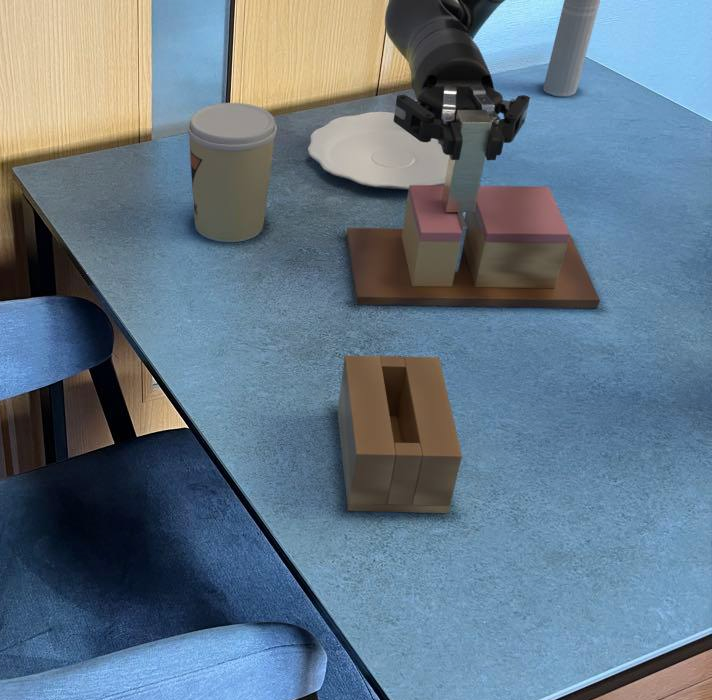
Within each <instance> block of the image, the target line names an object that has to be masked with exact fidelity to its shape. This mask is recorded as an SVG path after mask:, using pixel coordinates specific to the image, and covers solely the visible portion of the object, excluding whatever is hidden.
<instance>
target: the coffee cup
mask: <svg viewBox="0 0 712 700" xmlns="http://www.w3.org/2000/svg"><path fill="white" fill-rule="evenodd" d="M277 126H278V125H277V123H276V121H275V118H274V116H273V115H272V113H270V111H268V110H266V109H265V108H262V107H260V106H257V105H253V104H249V103H241V102H222V103H214V104H211V105H207V106H204V107H201V108H199V109H198V110H196V111H195V112H194V113H193V114H192V116H191V117H190V119H189V122H188V123H187V135H188V138H189V139H188V140H189V158H190V173H191V174H190V175H191V188H192V189H191V191H192V203H193V205H192V206H193V218H194V225H195V229H196V231H197V232H198V234H200V235H201V236H202V237H204V238H206V239H208V240H211V241H215V242H221V243H240V242H244V241H248V240H251V239H253V238H255V237H256V236H258V235H259V234H260V233H261V232H262V230H263V228H264V224H265V223H264V222H265V216H266V209H267V202H268V195H269V186H270V179H271V171H272V163H273V155H274V146H275V137H276V135H277V129H278V128H277Z"/></svg>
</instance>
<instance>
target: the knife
mask: <svg viewBox="0 0 712 700" xmlns="http://www.w3.org/2000/svg"><path fill="white" fill-rule="evenodd" d="M455 122H457V124H458V127H459V130H460V132H461V134H462V137H463V143H462V148H461V154H460V159H459V160H451V158H450V155H449V160H448V166H447V172H446V178H445V183H444V184H443V185H444V189H443V195H442V200H443V203H444V207H445V210H446V212H456V213H457V217H458V220H459V223H460V227H461V230H462V237H461V243H460V248H459V253H458V258H457V263H456V268H455V273H458V270H459V265H460V260H461V255H462V250H463V245H464V240H465V235H466V230H467V226H466V223H465V220H464V219H465V215H464V213H466V212H474V210H475V205H476V200H477V195H478V190H479V186H481V185H480V184H481V180H482V175H483V171H484V165H485V159H486V156H485V154H486V149H487V144H488V139H489V134H490V131H491V126H492V122H491V119H490V117H489V114H488V112H487V110H457V115H456V121H455Z"/></svg>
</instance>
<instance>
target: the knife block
mask: <svg viewBox="0 0 712 700" xmlns="http://www.w3.org/2000/svg"><path fill="white" fill-rule="evenodd" d="M440 359H441V358H440V357H439V356H401V355H400V356H399V355H344V359H343V365H342V374H341V380H340V389H339V395H338V396H339V397H338V404H337V418H338V428H339V437H340V438H339V439H340V447H341V448H340V449H341V457H342V466H343V467H342V468H343V476H344V485H345V495H346V504H347V505H346V506H347V511H348V512H376V513H377V512H381V513H382V512H383V513H415V514H417V513H421V514H449V513H450V508H451V504H452V499H453V495H454V492H455V487H456V482H457V480H458V475H459V471H460V466H461V463H462V459H463V454H462V450H461V445H460V440H459V437H458V432H457V429H456V423H455V419H454V415H453V411H452V407H451V403H450V397H449V393H448V389H447V385H446V381H445V377H444V372H443V368H442V364H441V360H440Z"/></svg>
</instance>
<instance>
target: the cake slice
mask: <svg viewBox="0 0 712 700" xmlns="http://www.w3.org/2000/svg"><path fill="white" fill-rule="evenodd" d="M443 189H444V184H440V185H410V186H409V189H408V191H407V198H406V206H405V211H404V219H403V224H402V229H403V231H402V242H403V246H404V251H405V255H406V260H407V264H408V269H409V273H410V278H411V283H412V286H438V287H452V284H453V279H454V274H455V268H456V263H457V258H458V253H459V248H460V243H461V237H462V230H461V227H460V223H459V220H458V217H457V213H456V212H446V210H445V207H444V203H443V200H442V195H443Z"/></svg>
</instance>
